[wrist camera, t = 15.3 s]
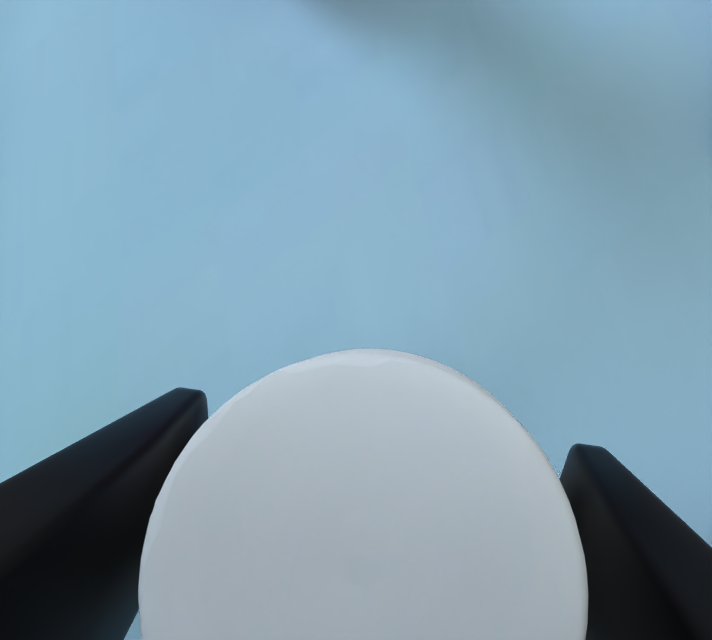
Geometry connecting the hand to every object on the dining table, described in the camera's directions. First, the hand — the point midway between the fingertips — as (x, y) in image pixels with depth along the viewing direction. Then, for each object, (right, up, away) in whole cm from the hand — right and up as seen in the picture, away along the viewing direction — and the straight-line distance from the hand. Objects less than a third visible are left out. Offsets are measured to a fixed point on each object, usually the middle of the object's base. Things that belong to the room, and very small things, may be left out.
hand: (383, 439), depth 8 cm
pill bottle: (0, -3, +6) cm, 7 cm away
